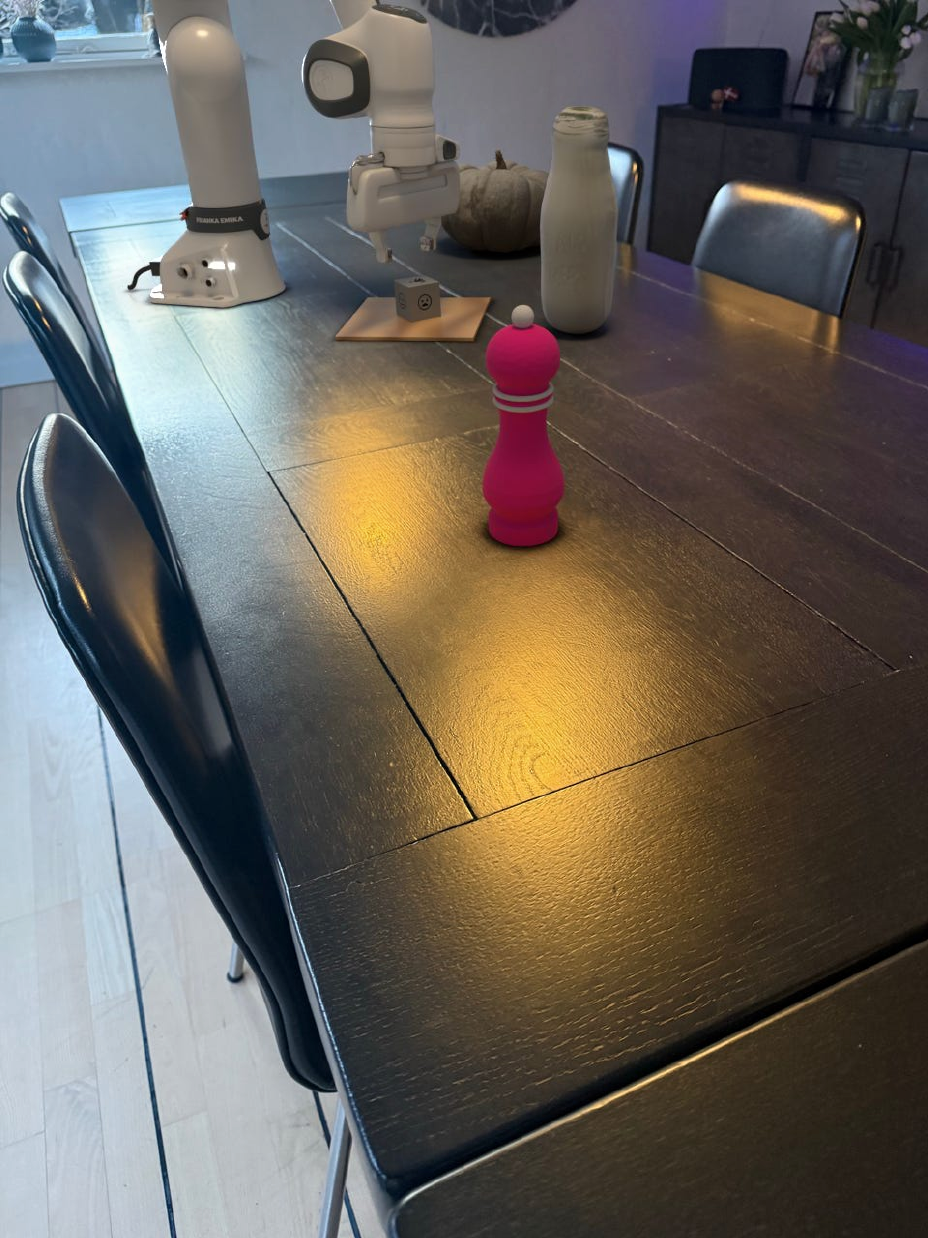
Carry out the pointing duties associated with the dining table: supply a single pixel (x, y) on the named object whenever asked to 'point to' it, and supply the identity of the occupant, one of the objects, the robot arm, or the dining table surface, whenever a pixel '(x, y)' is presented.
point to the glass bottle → (578, 223)
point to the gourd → (498, 207)
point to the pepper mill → (523, 434)
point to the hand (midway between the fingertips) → (406, 255)
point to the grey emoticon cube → (417, 298)
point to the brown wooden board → (385, 325)
